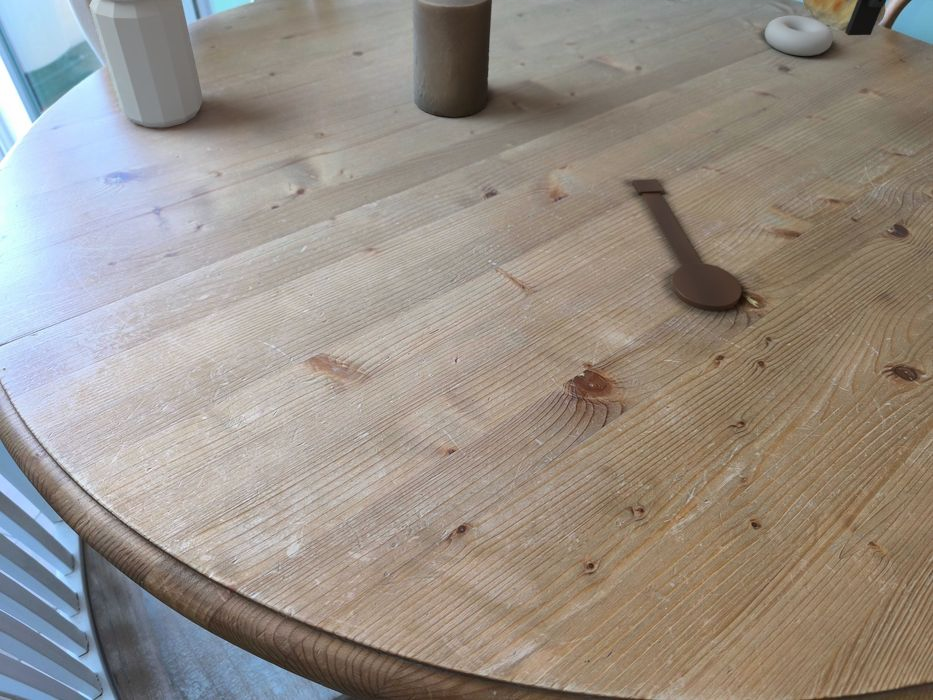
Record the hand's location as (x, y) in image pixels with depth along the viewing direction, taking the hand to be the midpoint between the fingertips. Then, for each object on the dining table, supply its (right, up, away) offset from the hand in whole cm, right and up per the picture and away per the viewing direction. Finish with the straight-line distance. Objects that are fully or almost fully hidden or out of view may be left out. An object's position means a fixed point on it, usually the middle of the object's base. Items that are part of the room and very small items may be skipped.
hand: (836, 16), depth 88 cm
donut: (+7, +8, +28) cm, 30 cm away
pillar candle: (-46, -7, +10) cm, 48 cm away
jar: (-81, -10, +5) cm, 82 cm away
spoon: (-22, -29, -12) cm, 38 cm away
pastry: (0, -1, 0) cm, 1 cm away
